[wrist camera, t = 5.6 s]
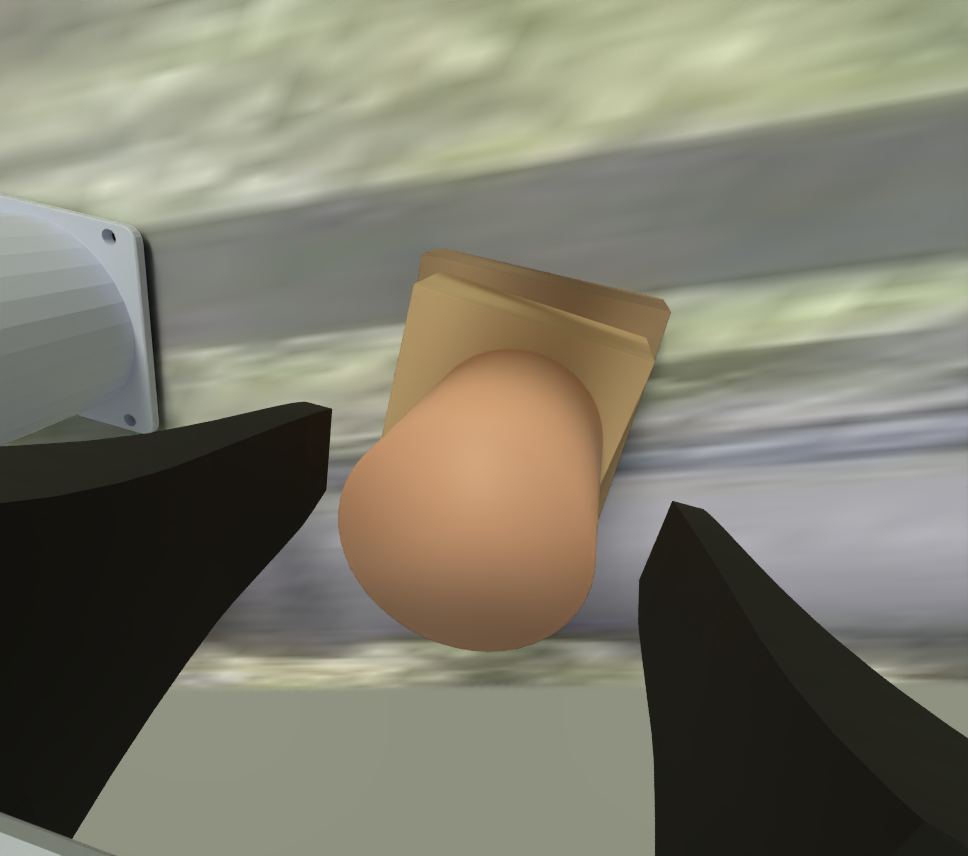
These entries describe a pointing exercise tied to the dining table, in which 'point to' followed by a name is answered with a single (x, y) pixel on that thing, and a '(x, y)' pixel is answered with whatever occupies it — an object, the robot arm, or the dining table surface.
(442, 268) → the tan square slab
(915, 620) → the dining table surface
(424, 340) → the oak top block
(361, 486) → the terracotta cylinder
